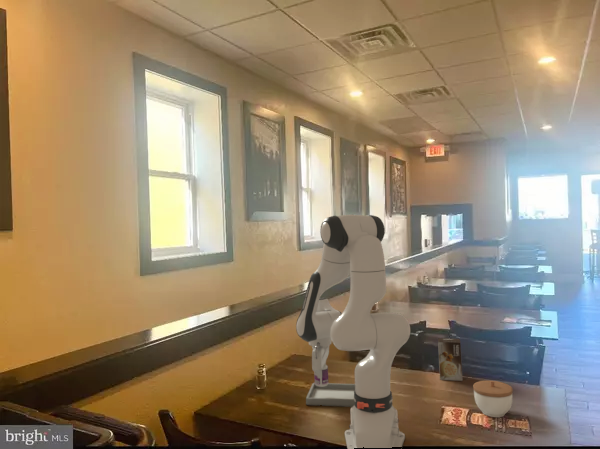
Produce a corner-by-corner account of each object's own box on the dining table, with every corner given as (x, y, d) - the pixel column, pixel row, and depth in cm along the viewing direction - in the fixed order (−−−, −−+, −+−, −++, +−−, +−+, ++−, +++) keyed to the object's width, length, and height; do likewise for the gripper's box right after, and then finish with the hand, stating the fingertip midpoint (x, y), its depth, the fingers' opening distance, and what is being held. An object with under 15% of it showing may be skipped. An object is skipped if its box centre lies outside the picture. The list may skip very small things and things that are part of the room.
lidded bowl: (466, 409, 164) (465, 378, 164) (494, 402, 168) (493, 372, 168) (492, 423, 152) (491, 390, 152) (522, 416, 156) (520, 384, 156)
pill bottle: (327, 381, 183) (327, 357, 183) (329, 386, 178) (328, 361, 177) (314, 382, 183) (313, 358, 183) (315, 387, 178) (314, 362, 177)
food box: (461, 376, 197) (460, 338, 196) (462, 381, 191) (461, 342, 190) (439, 374, 199) (438, 337, 199) (439, 379, 193) (438, 341, 193)
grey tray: (362, 407, 169) (362, 400, 169) (306, 404, 173) (305, 398, 173) (364, 390, 185) (364, 384, 185) (313, 388, 189) (312, 382, 189)
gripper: (324, 347, 169) (325, 384, 169) (331, 332, 189) (332, 366, 189) (307, 347, 170) (308, 384, 171) (316, 332, 190) (317, 365, 191)
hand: (321, 374), depth 180 cm, fingers closed on pill bottle, 5 cm apart
